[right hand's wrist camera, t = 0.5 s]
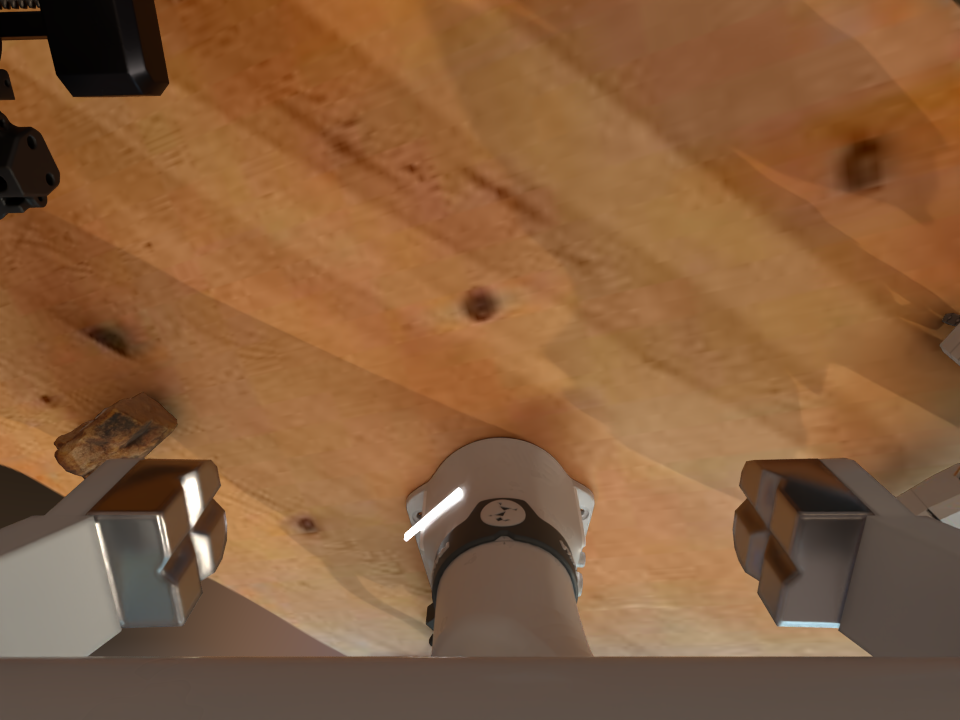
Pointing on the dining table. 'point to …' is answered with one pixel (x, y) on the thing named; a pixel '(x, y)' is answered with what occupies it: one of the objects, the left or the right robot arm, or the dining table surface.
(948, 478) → the robot
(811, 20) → the dining table surface
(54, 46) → the left robot arm
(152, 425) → the decorative rock
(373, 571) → the dining table surface
